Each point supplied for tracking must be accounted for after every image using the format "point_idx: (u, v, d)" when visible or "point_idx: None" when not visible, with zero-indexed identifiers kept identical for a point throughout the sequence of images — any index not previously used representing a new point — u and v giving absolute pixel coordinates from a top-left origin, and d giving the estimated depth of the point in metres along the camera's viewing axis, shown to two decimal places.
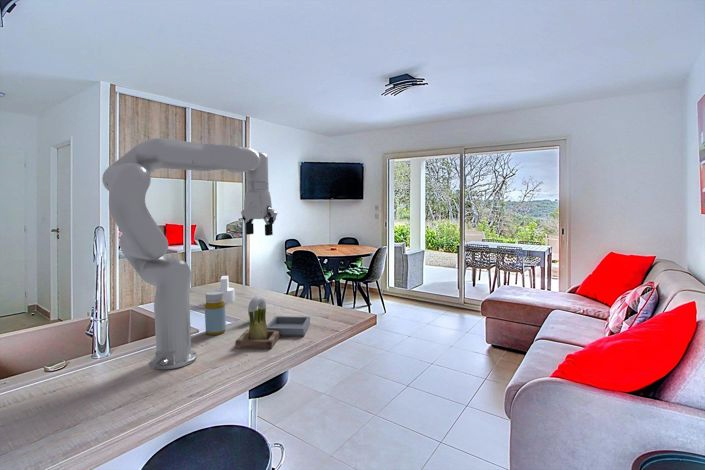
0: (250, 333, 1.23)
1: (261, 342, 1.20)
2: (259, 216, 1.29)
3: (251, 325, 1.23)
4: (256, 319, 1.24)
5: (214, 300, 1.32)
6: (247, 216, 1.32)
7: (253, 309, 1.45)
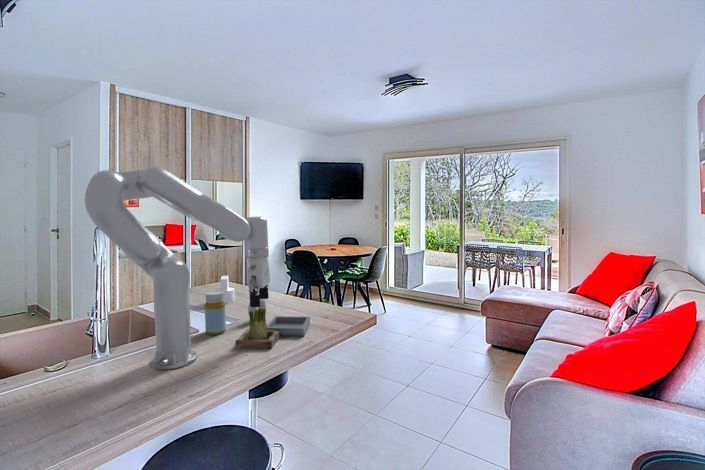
0: (250, 333, 1.23)
1: (261, 342, 1.20)
2: (269, 281, 1.27)
3: (251, 325, 1.23)
4: (256, 319, 1.24)
5: (214, 300, 1.32)
6: (264, 285, 1.21)
7: (253, 309, 1.45)
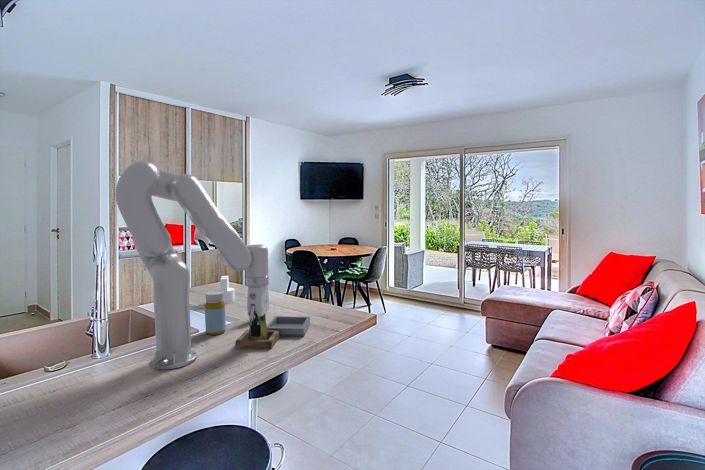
0: (250, 333, 1.23)
1: (261, 342, 1.20)
2: (268, 308, 1.28)
3: None
4: None
5: (214, 300, 1.32)
6: (263, 313, 1.22)
7: None
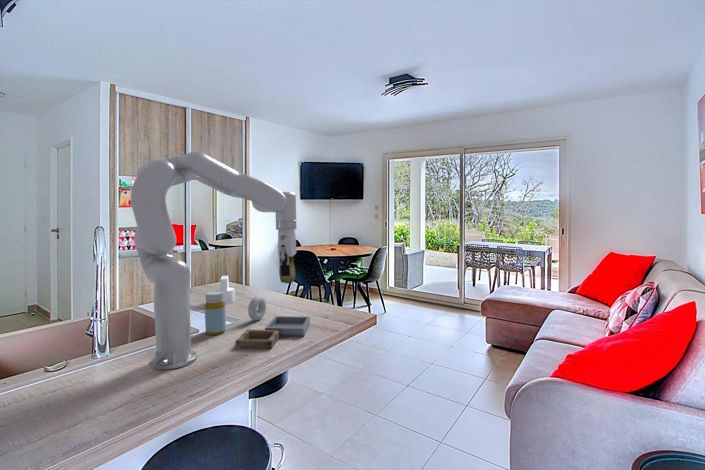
0: (280, 273, 1.34)
1: (261, 342, 1.20)
2: None
3: None
4: None
5: (214, 300, 1.32)
6: (292, 254, 1.33)
7: (253, 309, 1.45)
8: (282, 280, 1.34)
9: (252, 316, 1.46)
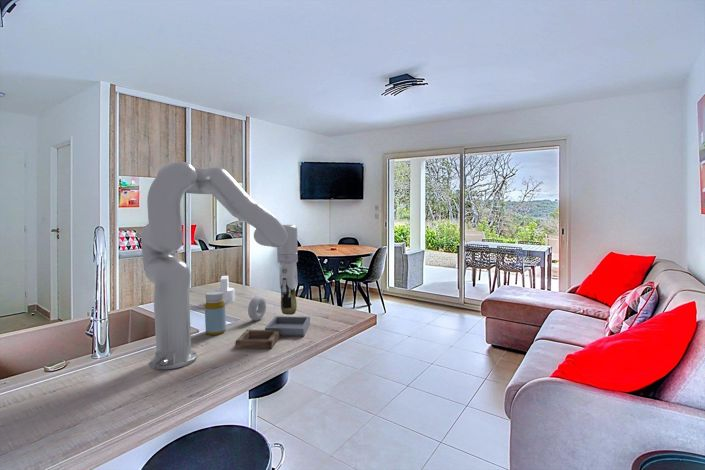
0: (281, 305, 1.35)
1: (261, 342, 1.20)
2: (297, 283, 1.40)
3: None
4: None
5: (214, 300, 1.32)
6: (293, 287, 1.34)
7: (253, 309, 1.45)
8: (284, 312, 1.36)
9: (252, 316, 1.46)
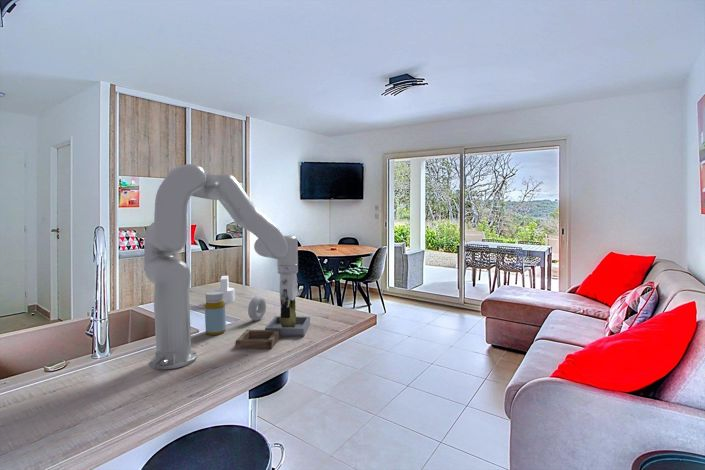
0: (281, 319, 1.36)
1: (261, 342, 1.20)
2: (297, 294, 1.40)
3: None
4: None
5: (214, 300, 1.32)
6: (294, 297, 1.34)
7: (253, 309, 1.45)
8: (283, 326, 1.36)
9: (252, 316, 1.46)
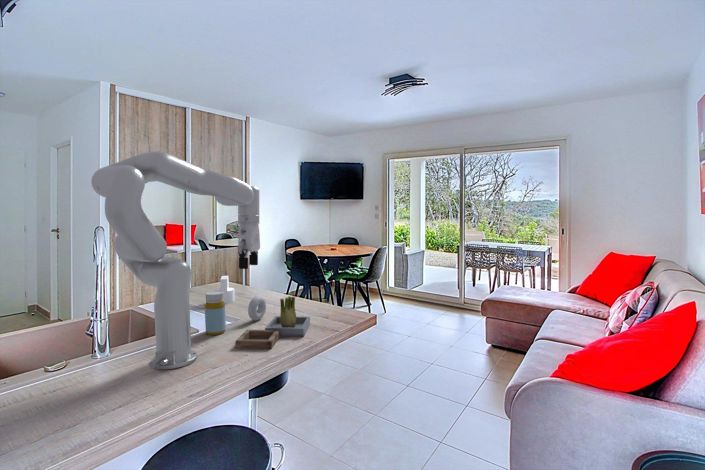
0: (281, 319, 1.36)
1: (261, 342, 1.20)
2: (259, 248, 1.37)
3: (282, 312, 1.35)
4: (286, 306, 1.36)
5: (214, 300, 1.32)
6: (253, 249, 1.31)
7: (253, 309, 1.45)
8: (283, 326, 1.36)
9: (252, 316, 1.46)
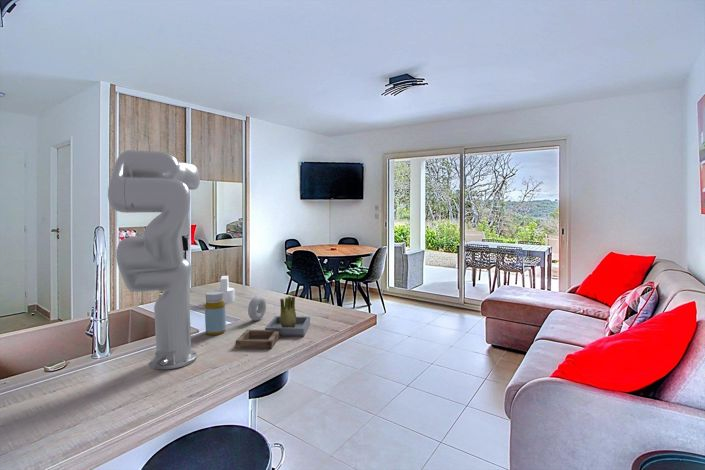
0: (281, 319, 1.36)
1: (261, 342, 1.20)
2: (188, 233, 1.33)
3: (282, 312, 1.35)
4: (286, 306, 1.36)
5: (214, 300, 1.32)
6: None
7: (253, 309, 1.45)
8: (283, 326, 1.36)
9: (252, 316, 1.46)
